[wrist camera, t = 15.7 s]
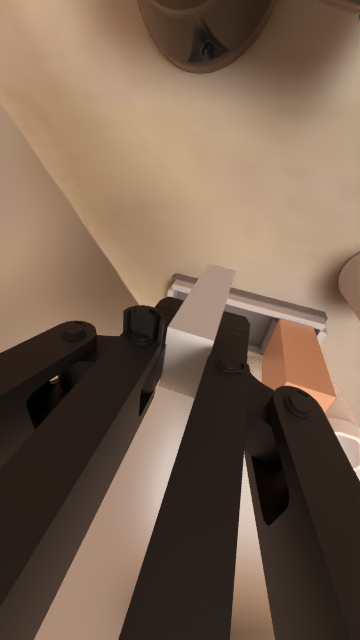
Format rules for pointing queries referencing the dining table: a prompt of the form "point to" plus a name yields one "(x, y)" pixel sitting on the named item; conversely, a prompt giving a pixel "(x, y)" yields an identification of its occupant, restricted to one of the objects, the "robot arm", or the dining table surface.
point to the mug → (351, 283)
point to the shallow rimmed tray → (257, 312)
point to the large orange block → (296, 361)
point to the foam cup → (345, 428)
